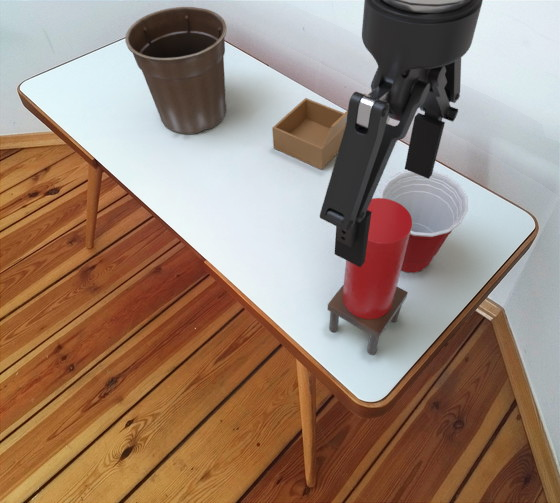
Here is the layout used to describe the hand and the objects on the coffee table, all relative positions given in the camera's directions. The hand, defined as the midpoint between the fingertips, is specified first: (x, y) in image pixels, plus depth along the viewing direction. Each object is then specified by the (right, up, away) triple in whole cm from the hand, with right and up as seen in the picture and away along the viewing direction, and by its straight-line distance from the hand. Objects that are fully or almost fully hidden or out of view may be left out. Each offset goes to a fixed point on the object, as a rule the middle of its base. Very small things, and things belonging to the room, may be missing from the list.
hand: (386, 212), depth 50 cm
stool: (+1, -13, +17) cm, 21 cm away
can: (0, -9, +12) cm, 15 cm away
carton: (-5, +15, +39) cm, 42 cm away
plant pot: (-26, +21, +46) cm, 57 cm away
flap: (0, +17, +31) cm, 36 cm away
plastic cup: (+8, -5, +23) cm, 25 cm away
